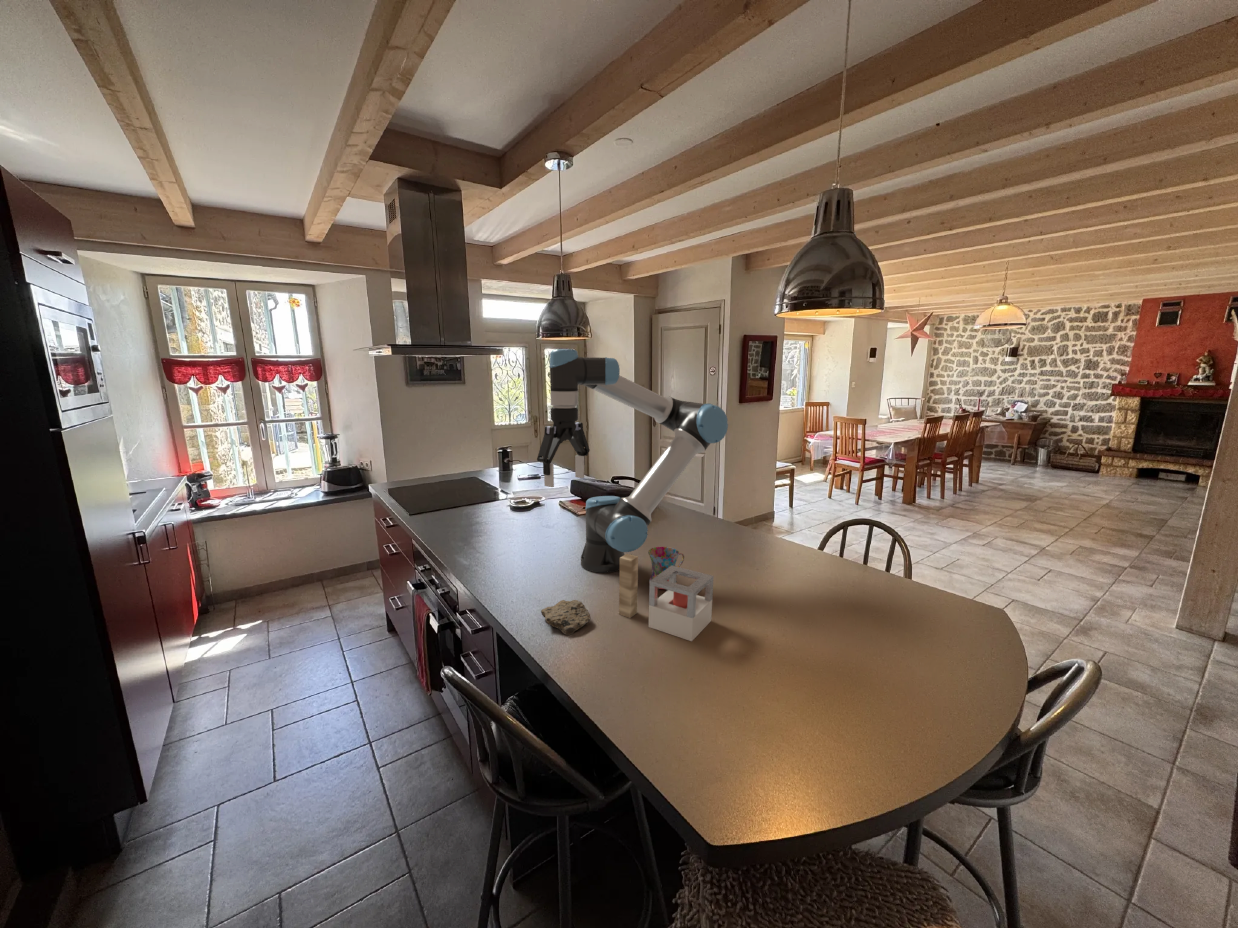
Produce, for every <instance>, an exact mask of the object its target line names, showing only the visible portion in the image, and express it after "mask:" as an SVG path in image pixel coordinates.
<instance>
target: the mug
mask: <svg viewBox="0 0 1238 928" xmlns="http://www.w3.org/2000/svg"><path fill="white" fill-rule="evenodd" d="M647 552H648V555H649V558H650V562H651V568H652V569H651V570H652V571H651V575H650V578H649V580H648V584H649V585H650V580H652V579H653V578H655V577H656V576H657V575H659V574H660V573H662V572H663V571H664V570H666V569H667V568H669V567H670V566H676V563H677V560H678V558H679V556H680V555H681V556H682V558H681V560H680V562H679V564H678V565H677V566H676V567H680V568H681V566H682V565H683V562H684V560H685V555H684V553H682V552H680V551H679V550H678V549H677V548H676V549H675V548H673V547H670V546H654V547H651V548H650V549H649V550H648V551H647ZM667 581H669V580H667ZM676 583H677V584H678V582H677V580H676ZM658 590H664V589H663V588H660V587H658Z"/></svg>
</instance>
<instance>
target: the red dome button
mask: <svg viewBox="0 0 1238 928" xmlns="http://www.w3.org/2000/svg"><path fill="white" fill-rule="evenodd" d="M687 604H688V595H684V594H681V593H677V592H674V596H673V605H675V606H678V607H682V608H685V609H686V608H687Z"/></svg>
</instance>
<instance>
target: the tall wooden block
mask: <svg viewBox="0 0 1238 928" xmlns="http://www.w3.org/2000/svg"><path fill="white" fill-rule="evenodd" d="M624 554H625V553H624ZM618 579H619V580H618V581H619V582H618V583H619V589H618V591H619V592H618V594H619V595H618V596H619V600H618V602H619V603H618V605H619V606H618V615H620V616H624V617H626V618H629V619H631V618H632V617H634V616H635V615H636V614H638V588H639V587H638V584H639V583H638V582H639V581H638V580H639V556H638V555H634V554H630V553H626V554H625V555H624V556H622V557H620V570H619V578H618Z"/></svg>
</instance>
